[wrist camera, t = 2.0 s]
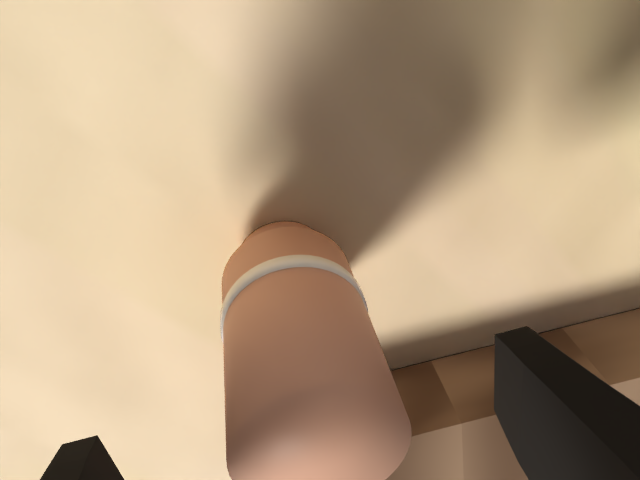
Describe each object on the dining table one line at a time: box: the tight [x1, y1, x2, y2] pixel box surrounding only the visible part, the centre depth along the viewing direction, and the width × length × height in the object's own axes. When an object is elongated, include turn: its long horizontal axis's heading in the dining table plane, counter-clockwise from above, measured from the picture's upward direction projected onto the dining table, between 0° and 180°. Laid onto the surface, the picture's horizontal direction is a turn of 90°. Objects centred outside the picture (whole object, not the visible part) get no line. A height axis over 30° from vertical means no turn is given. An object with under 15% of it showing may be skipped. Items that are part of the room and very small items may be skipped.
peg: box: [220, 221, 412, 480], centre depth 12 cm, size 3×3×6 cm
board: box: [386, 309, 640, 480], centre depth 20 cm, size 16×12×2 cm
